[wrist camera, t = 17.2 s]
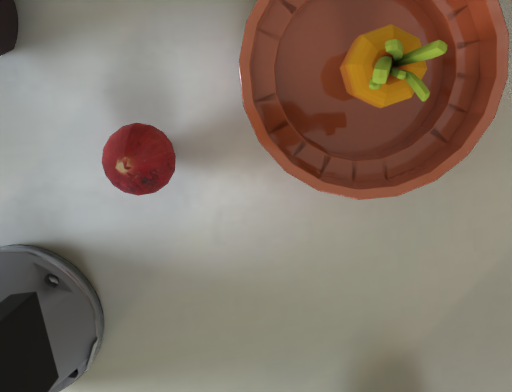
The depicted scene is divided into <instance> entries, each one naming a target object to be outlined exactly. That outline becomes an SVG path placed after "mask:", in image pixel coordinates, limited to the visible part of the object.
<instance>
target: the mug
mask: <svg viewBox="0 0 512 392" xmlns="http://www.w3.org/2000/svg"><path fill="white" fill-rule="evenodd" d="M17 34H18V16H17V11H16V7H15V3H14V0H0V56H1V55H3V54H5V53H7V52H9V51H11V50H13V49H14V47H15V43H16V40H17Z"/></svg>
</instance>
